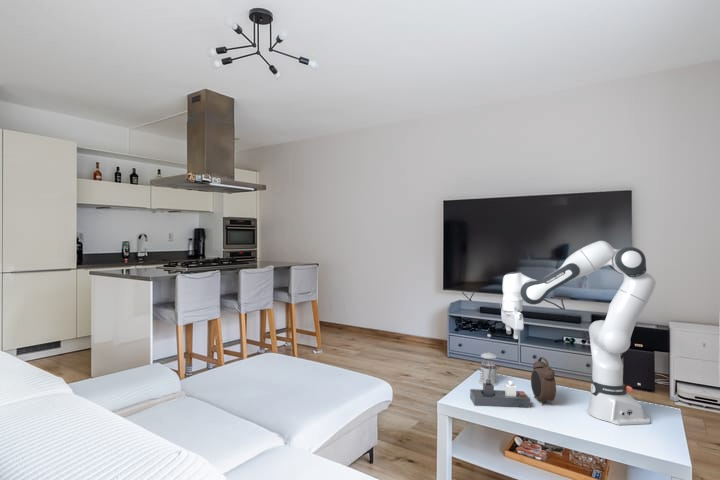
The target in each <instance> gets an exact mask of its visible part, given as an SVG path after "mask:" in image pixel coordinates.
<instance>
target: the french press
mask: <svg viewBox="0 0 720 480" xmlns="http://www.w3.org/2000/svg"><path fill="white" fill-rule="evenodd" d="M486 336H487V337H488V338H491V337H492V335H491V333H488V334H487V335H486ZM480 357H481V358H482V359H486V360H487V361H482V362H481V365H480V371H479V372H480V375H479V376H480V378H479V380H478V384H480V385H481V386H483V383H486V380H487V379H489V380H491V384H493V386H494V387H496V386H498V385H499V383H498V382H497V366H496V363H494V362H493V361H490V360H495V359H497V358H498V357H497V355H496V354H494V353H491V352H483V353H481V354H480Z"/></svg>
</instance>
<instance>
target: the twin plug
mask: <svg viewBox="0 0 720 480" xmlns="http://www.w3.org/2000/svg"><path fill="white" fill-rule="evenodd" d="M482 390H483V395H494V390H495V386H493V384H491V380H489V379H487V380H486V383H483V385H482Z"/></svg>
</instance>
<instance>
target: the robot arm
mask: <svg viewBox="0 0 720 480" xmlns="http://www.w3.org/2000/svg"><path fill="white" fill-rule="evenodd" d="M606 266H608V267H610V269H612V270H613V271H615V272H617V273H618V274H621V275H623V281H622V283H621V285H620V287H619V288H618V289H617V291H616V294H615V295H614V297H613V298H612V300H611V302H610V303H609V305H608V311H607V314H606V317H605V319H604V320H603V319H600V320H595V321H593V322H592V323H591V324H590V325H589V327H588V335H589V344H590V352H591V359H592V360H591V361H592V366H591V367H592V370H591V372H592V373H591V375H592V376H591V379H590V393H591V394H590V400H589V404H588V408H587V410H586V412H587V413H588V415H590V416H592V417H593V418H596V419H598V420H600V421H605V422H609V423H612V424H614V425H616V426H617V425H618V426H623V425H624V426H627V425H629V426H630V425H649V424H651V420H650V418H649V417H648V416H647V415H645V414H644V409H643V406H642V404H640V402H639V401H637V400H636V399H635V397H633V396H632V395H630V394H629V393H632V392H633V390H634V389H633V387H632V386H630V385H626V384H625V383H623V382H624V381H623V378H624V364H623V361H622V358H621V354H623V353H626V352H627V351H628V349H630V346H631V338H632V334H633V331H634V329H635V326H636V323H637V321H638V320H639V317H640V315H641V314H642V312H643V310H644V309H645V307H646V305H647V304H648V302H649V300H650V299H651V297H652V295H653V292H654V290H655V288H656V279H655V278H654V276H652V274H650V273H648V272H647V260H646V255H645V253H644V252H643V251H642V250H641V249H639V248H636V247H634V246H626V247H622V248H620V249H616V248H614V247H613V246H612V245H611V244H610V243H608V242H607V241H605V240H598V241H595V242H592V243H590V244H587V245H585V246H584V247H581V248H580V249H577V250H576V251H575V252H573V253H572V254H570V255H569V256H568V257H566V259H565V260H564V261H563V264H561V266H560V267H559V268H558V269H556V270H555V271H553V272H552V273H550V274H548V275H546V276H545V277H543V278H541V279H538V280H537V279H534V278H531V277H529V276H528V275H525V274H523V273H522V272H521V271H511V272H507V273H505V274H504V276H503V278H502V289H501V290H502V294H503V295H502V301H501V302H500V303H499V307H500V308H501V310H500V314H501V322H502V324H505V330H506V334H507V335H511V334H512V329H513V334H512V338H513V339H514V340H518V339H519V335H520V331H524V328H525V327H524V324H525V323H524V315H523V313H522V312H523V307H524V306H523V305H524V304H523V302H525V303H526V304H529V305H539V304H540V303H542V302H543V301H544V300H545V299H546V297H547V296H548V295H549V293H551V292H552V291H554V290H556V289H557V288H558V289H559V287H561V286H562V285H564V284H566V283H568V282H570V281H573V280H576V279H579V278H582V277H585V276H587V275H589V274H592V273H594V272H596V271H597V270H600V269H601V268H604V267H606ZM628 392H629V393H628Z"/></svg>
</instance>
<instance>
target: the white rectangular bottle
mask: <svg viewBox="0 0 720 480" xmlns="http://www.w3.org/2000/svg"><path fill="white" fill-rule="evenodd" d="M504 386H505V387H504V391H505V395H506V396H516V391H517V386H516V385H515V384H514V381H513V380H511V379H510V380H508V384H507V383H506V384H504Z"/></svg>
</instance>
